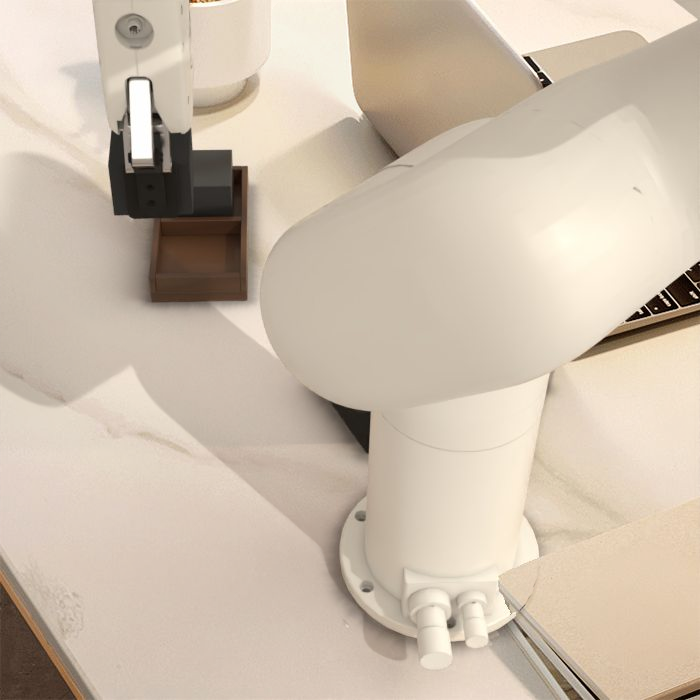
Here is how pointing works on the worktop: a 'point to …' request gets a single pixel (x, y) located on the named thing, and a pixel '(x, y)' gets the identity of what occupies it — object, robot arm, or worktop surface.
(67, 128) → the worktop surface
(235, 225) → the partitioned wooden crate
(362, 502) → the robot arm
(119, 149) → the block
